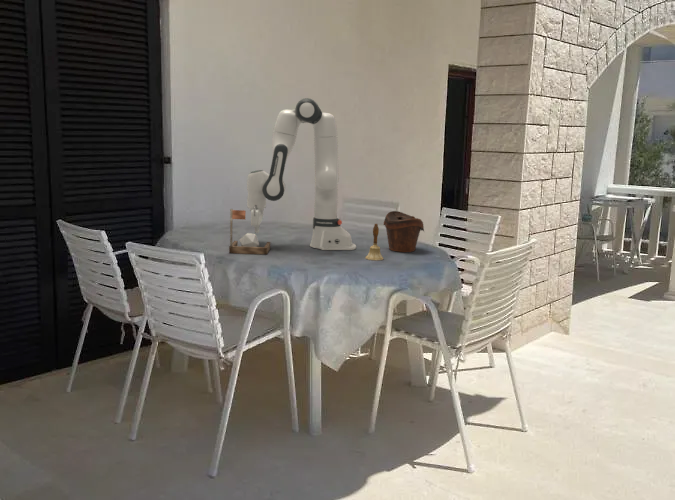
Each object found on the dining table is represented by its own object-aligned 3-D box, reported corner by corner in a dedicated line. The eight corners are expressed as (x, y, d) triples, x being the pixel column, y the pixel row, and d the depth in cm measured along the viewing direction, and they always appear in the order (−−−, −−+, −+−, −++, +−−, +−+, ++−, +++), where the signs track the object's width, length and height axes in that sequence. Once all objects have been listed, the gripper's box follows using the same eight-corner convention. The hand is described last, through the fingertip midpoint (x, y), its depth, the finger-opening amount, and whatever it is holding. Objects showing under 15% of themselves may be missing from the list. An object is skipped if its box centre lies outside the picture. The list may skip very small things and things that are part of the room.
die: (262, 251, 312) (258, 233, 316) (256, 245, 304) (252, 226, 308) (246, 257, 313) (242, 238, 317) (239, 251, 305) (235, 232, 309)
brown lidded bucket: (418, 255, 314) (420, 217, 311) (377, 250, 321) (379, 213, 318) (426, 249, 331) (429, 212, 328) (387, 245, 338) (389, 209, 334)
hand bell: (386, 260, 300) (388, 225, 297) (369, 260, 297) (371, 225, 294) (379, 256, 308) (380, 222, 305) (362, 257, 305) (363, 222, 302)
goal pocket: (270, 248, 318) (271, 206, 314) (266, 254, 303) (267, 210, 299) (234, 246, 318) (234, 204, 314) (229, 253, 302) (229, 209, 299)
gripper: (261, 206, 312) (261, 236, 315) (265, 201, 332) (265, 229, 335) (247, 206, 312) (247, 236, 314) (252, 201, 332) (252, 229, 335)
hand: (257, 232), depth 325 cm, fingers closed
